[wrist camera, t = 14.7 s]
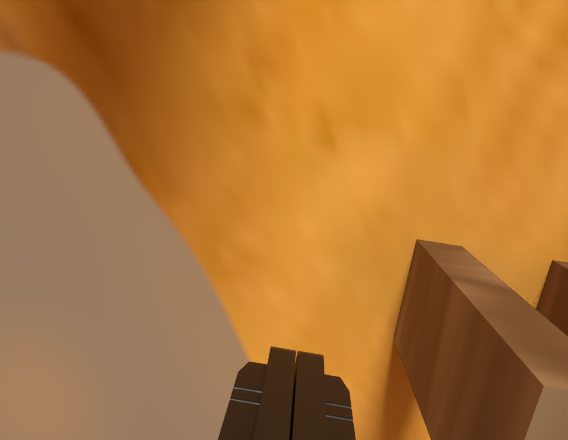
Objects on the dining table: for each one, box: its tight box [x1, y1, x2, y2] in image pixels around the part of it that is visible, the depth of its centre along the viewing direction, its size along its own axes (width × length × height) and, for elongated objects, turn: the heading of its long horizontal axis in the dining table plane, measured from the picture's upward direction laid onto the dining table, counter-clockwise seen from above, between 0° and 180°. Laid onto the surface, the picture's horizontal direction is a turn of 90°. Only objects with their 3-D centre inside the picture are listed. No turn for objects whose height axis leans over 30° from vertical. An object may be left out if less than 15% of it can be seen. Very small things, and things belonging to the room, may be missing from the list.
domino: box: [394, 240, 568, 440], centre depth 13 cm, size 2×5×10 cm, turn 172°
